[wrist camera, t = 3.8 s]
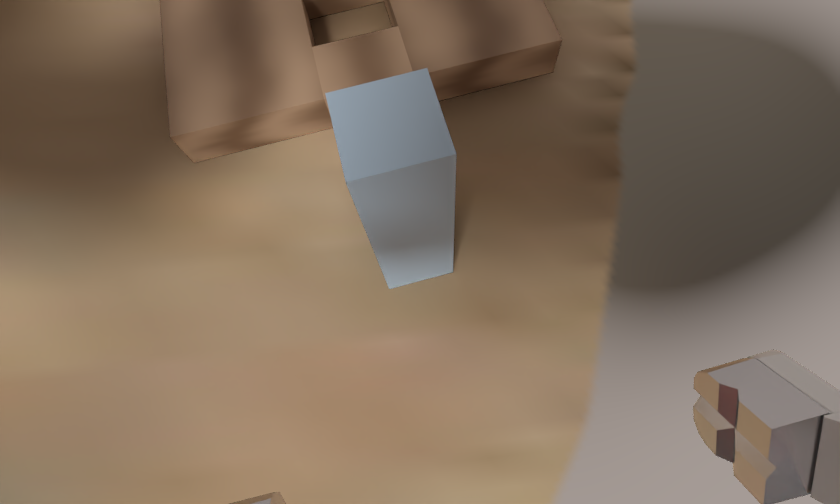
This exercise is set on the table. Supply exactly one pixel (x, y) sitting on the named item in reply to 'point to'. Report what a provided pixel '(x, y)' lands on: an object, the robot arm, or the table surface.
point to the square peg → (399, 172)
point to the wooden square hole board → (330, 61)
